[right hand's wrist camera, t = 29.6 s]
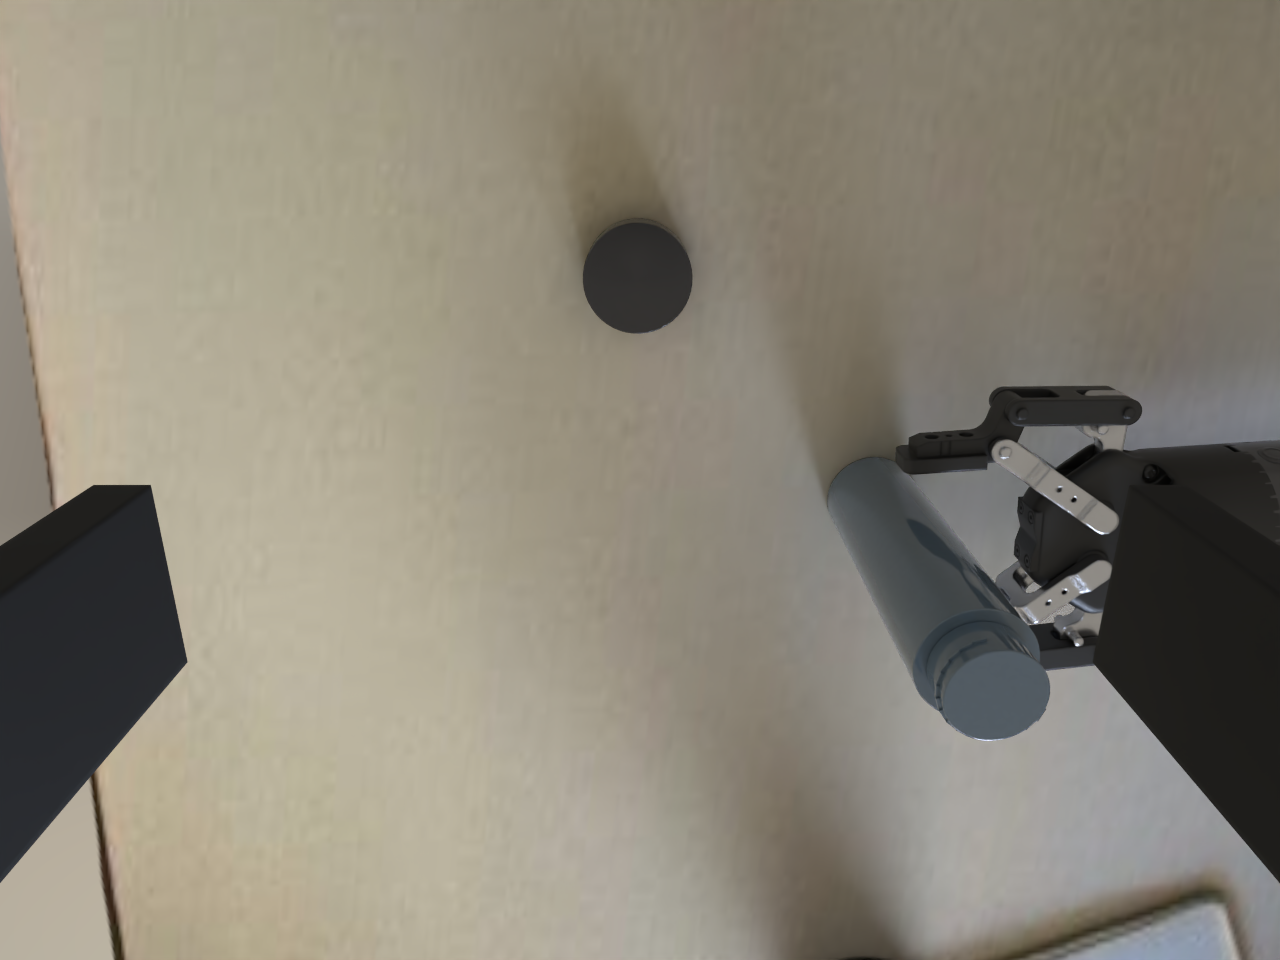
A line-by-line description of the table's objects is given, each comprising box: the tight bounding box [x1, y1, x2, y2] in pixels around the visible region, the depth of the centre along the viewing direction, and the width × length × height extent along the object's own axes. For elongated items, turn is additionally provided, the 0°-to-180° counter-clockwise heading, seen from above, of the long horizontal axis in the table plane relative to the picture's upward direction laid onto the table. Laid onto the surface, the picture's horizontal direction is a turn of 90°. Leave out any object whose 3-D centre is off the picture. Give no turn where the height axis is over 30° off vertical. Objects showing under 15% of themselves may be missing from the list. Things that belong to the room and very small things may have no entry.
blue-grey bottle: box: [827, 457, 1050, 740], centre depth 41 cm, size 5×5×19 cm
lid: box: [583, 219, 692, 334], centre depth 45 cm, size 5×5×2 cm
